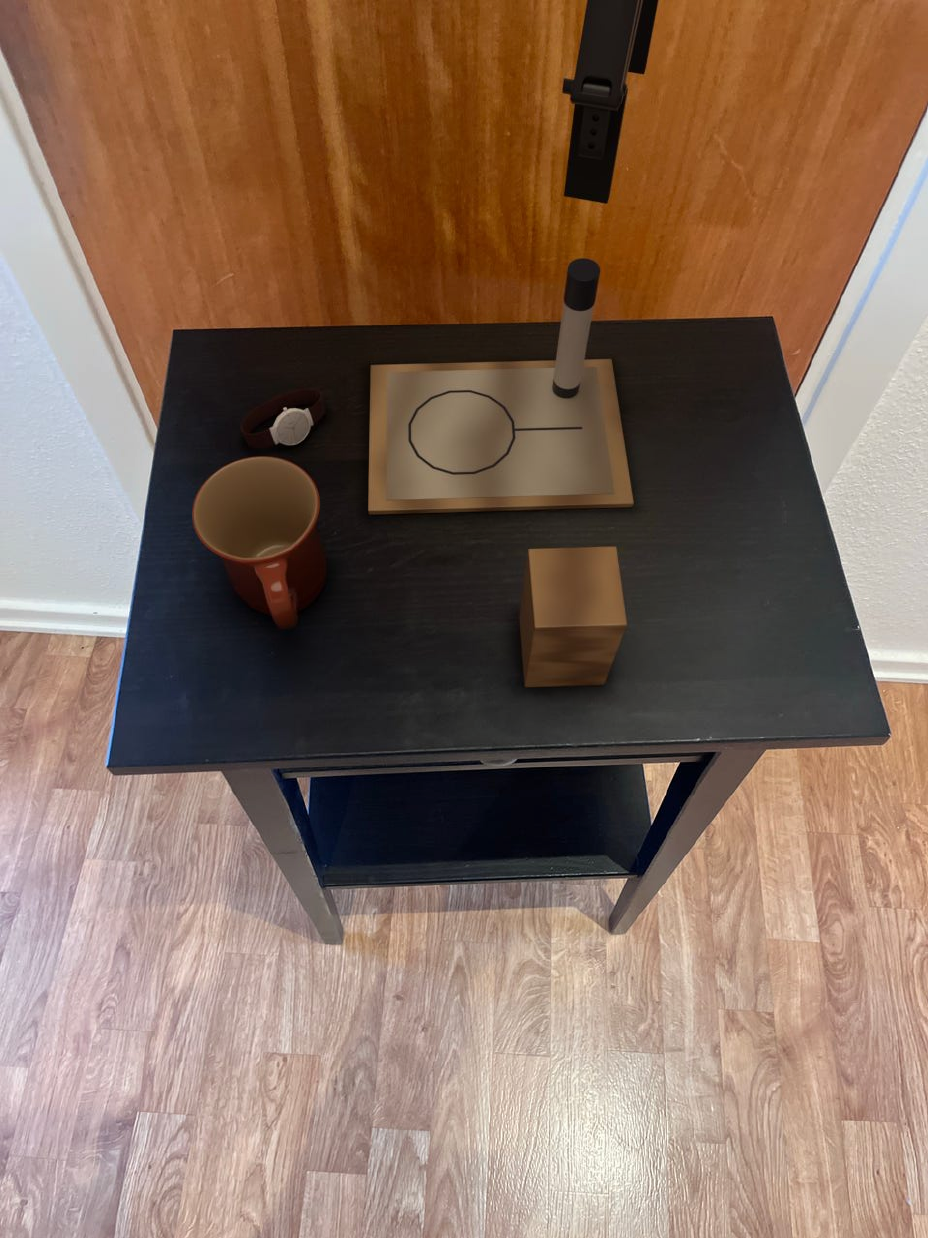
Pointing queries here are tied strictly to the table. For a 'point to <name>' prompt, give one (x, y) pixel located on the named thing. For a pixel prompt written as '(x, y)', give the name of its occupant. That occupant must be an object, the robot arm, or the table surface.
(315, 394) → the watch
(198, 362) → the table surface
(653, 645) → the table surface
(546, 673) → the wooden block
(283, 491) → the mug
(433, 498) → the sketch pad
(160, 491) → the table surface
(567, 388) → the marker
